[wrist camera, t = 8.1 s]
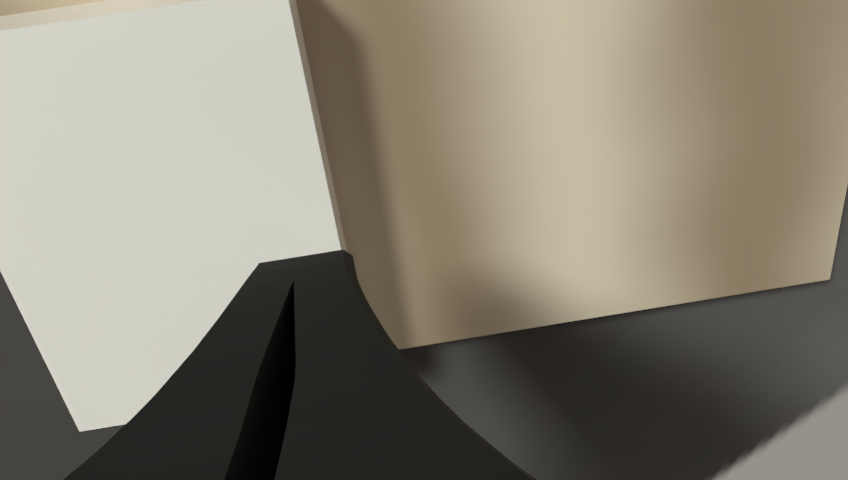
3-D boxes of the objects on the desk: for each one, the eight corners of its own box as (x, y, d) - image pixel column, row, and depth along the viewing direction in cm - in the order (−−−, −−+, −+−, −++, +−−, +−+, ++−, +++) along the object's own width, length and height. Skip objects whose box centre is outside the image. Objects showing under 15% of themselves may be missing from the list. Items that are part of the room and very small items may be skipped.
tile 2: (285, -12, 11) (-111, 46, 11) (369, 384, 15) (79, 431, 15) (291, -32, 13) (-62, 20, 13) (366, 337, 17) (100, 379, 17)
